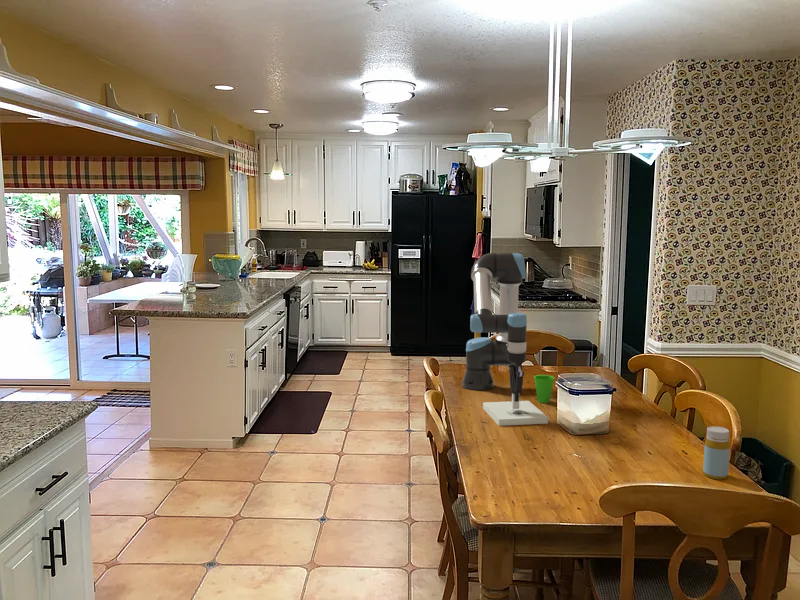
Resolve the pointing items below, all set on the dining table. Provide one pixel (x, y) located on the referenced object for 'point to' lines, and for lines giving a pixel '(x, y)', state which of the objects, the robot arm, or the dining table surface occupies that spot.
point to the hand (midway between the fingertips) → (515, 408)
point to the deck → (506, 416)
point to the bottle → (716, 453)
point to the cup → (543, 387)
